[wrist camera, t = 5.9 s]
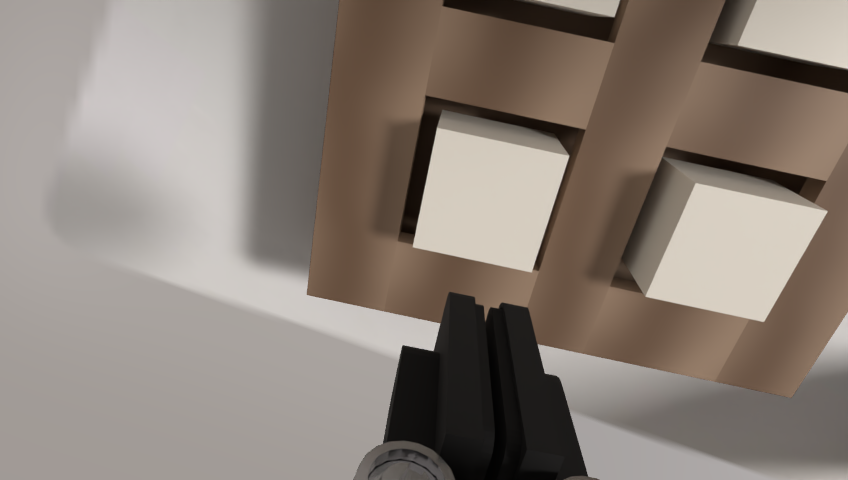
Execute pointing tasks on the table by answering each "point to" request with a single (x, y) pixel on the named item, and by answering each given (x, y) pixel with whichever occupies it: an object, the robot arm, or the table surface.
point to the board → (580, 171)
